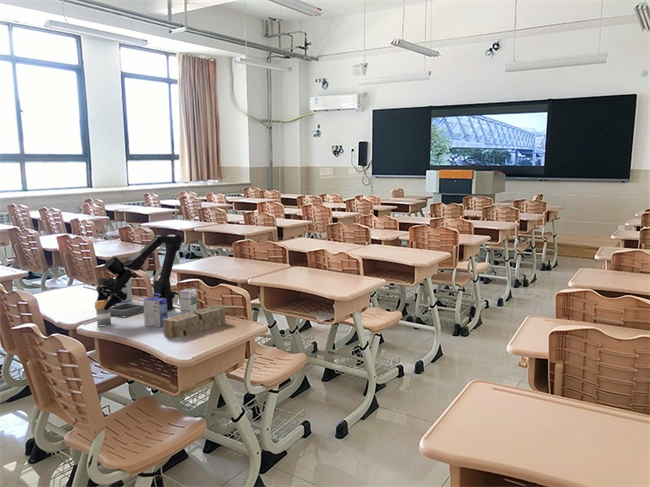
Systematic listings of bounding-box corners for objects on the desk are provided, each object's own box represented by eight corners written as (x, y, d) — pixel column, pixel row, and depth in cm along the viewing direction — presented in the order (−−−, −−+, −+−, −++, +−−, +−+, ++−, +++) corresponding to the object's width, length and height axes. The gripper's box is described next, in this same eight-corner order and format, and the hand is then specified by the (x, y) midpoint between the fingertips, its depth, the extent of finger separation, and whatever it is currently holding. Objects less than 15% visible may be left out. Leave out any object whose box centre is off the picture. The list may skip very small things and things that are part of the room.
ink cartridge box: (169, 324, 226) (167, 293, 225) (160, 327, 221) (158, 296, 220) (152, 322, 231) (150, 292, 229) (144, 325, 226) (142, 294, 224)
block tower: (175, 341, 204) (228, 323, 227) (173, 322, 203) (227, 305, 226) (163, 338, 209) (217, 320, 232) (162, 319, 208) (216, 303, 230)
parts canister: (114, 323, 230) (112, 306, 229) (103, 326, 225) (101, 309, 224) (105, 322, 232) (104, 305, 232) (94, 325, 227) (93, 308, 226)
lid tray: (143, 311, 252) (143, 305, 252) (124, 317, 241) (123, 311, 241) (126, 308, 258) (126, 303, 257) (106, 314, 247) (106, 308, 247)
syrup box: (191, 321, 230) (189, 291, 228) (180, 320, 232) (179, 290, 230) (198, 318, 236) (196, 288, 234) (188, 317, 237) (186, 288, 236)
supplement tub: (114, 307, 262) (112, 280, 261) (112, 303, 271) (110, 277, 269) (133, 304, 267) (131, 278, 265) (131, 301, 275) (129, 275, 273)
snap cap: (113, 306, 229) (113, 300, 229) (101, 310, 223) (101, 303, 223) (104, 305, 232) (103, 298, 232) (92, 308, 226) (91, 301, 226)
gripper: (98, 268, 234) (77, 295, 227) (119, 272, 223) (97, 300, 216) (115, 282, 242) (95, 308, 234) (136, 286, 230) (115, 314, 223)
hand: (100, 308), depth 226 cm, fingers open, 8 cm apart
